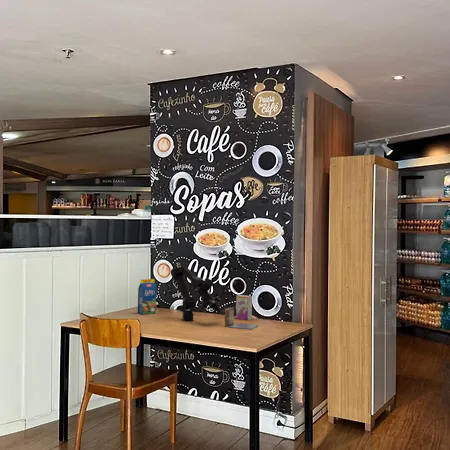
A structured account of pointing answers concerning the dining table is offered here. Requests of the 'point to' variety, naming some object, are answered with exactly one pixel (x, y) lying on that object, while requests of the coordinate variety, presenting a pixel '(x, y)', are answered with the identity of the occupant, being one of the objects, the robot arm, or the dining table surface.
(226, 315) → the walnut tile
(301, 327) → the dining table surface
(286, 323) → the dining table surface
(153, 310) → the blue food package
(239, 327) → the slate board
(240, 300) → the candy bar box
